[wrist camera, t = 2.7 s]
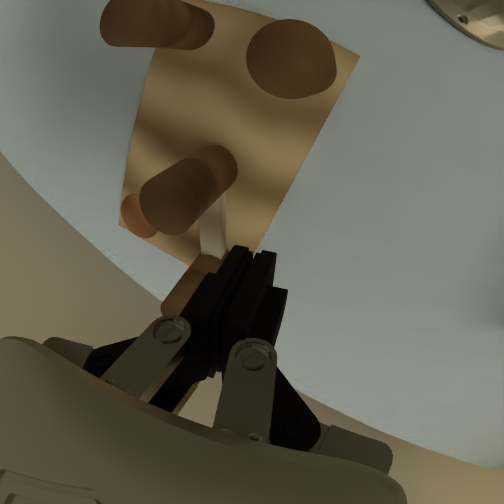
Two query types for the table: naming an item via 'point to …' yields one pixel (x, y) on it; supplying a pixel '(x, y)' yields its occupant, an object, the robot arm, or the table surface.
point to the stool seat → (224, 105)
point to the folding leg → (192, 212)
